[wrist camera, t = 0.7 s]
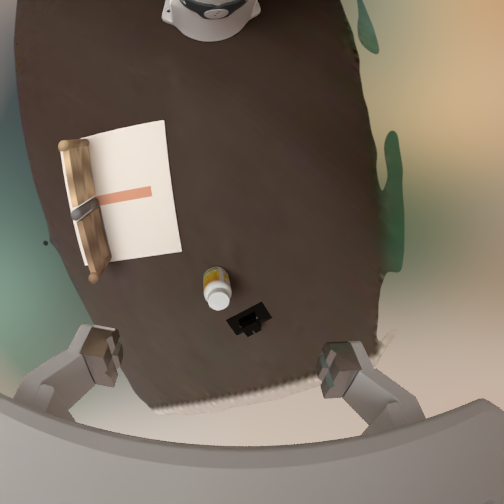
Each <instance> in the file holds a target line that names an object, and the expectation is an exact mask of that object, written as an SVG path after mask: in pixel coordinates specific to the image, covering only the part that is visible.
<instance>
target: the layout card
mask: <svg viewBox="0 0 504 504" xmlns="http://www.w3.org/2000/svg"><path fill="white" fill-rule="evenodd" d="M81 139H88V140H89V145H88V149H89V156H90V164H91V170H92V177H93V183H94V188H95V194H96V195H95V196H93V197H96V198H97V199H98V200H99V204H98V205H97V206H96V207H94V208H99V212H100V216H101V221H102V226H103V230H104V234H105V238H106V242H107V246H108V250H109V254H110V255H111V257H112V258H111V260H110V262H113V261H120V260H126V259H133V258H140V257H147V256H154V255H161V254H169V253H176V252H182V247H181V242H180V236H179V230H178V224H177V217H176V211H175V204H174V197H173V190H172V183H171V175H170V168H169V159H168V151H167V142H166V132H165V121H164V120H161V121H155V122H150V123H144V124H139V125H134V126H129V127H125V128H120V129H116V130H112V131H107V132H103V133H99V134H96V135H92V136H88V137H84V138H81ZM60 152H61V159H62V166H63V173H64V179H65V184H66V190H67V195H68V200H69V205H70V210H71V213H72V211H73V210H75V209H76V208H78V207H79V206H81V205H82V204H84V203H86V202H87V201H89V200H90V199H92V198H93V197H92V198H90V199H89V200H87V201H86V202H84V203H82V204H81V205H79V206H77V207H73V208H72V203H71V198H70V193H69V187H68V182H67V176H66V170H65V163H64V156H63V151H60ZM94 208H93V209H94ZM90 211H91V210H90ZM90 211H89V212H90ZM86 214H87V213H86ZM86 214H85V215H86ZM81 218H82V217H81ZM81 218H80V219H81ZM77 221H78V220H77ZM77 221H75V220H73V223H74V227H75V231H76V235H77V239H78V242H79V246H80V250H81V253H82V257H83V260H84V263H85V266H86V265H88V263H87V260H86V256H85V253H84V249H83V246H82V242H81V238H80V234H79V230H78V226H77Z"/></svg>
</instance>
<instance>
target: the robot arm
mask: <svg viewBox="0 0 504 504" xmlns="http://www.w3.org/2000/svg"><path fill="white" fill-rule="evenodd" d="M167 11H170V12H169V13H168V12H167ZM260 11H261V8H260V6H259V3H258V0H166V1H165V5H164V9H163V13H162V20H163V21H164V22H166V23H169V24H172V25H174V26H176V27H177V28H178V29H179V30H180V31H181V32H182V33H183V34H185V35H186V36H188V37H190V38H192V39H195V40H199V41H207V42H212V41H220V40H224V39H227V38H229V37H231V36H233V35H235V34H237V33H238V32H239V31H240V30H241V29H242V28H243V27H244V26H245V24H246V23H247V22H248V21H249V20H250V19H252V18H254V17H256V16H257V15H259V14H260ZM119 337H120V335H119V332H118V330H117V329H113V328H108V327H103V326H98V325H92V324H87V323H83V324H82V325H81V326H80V328H79V329H78V331H77V333H76V335H75V337H74V339H73V341H72V343H71V345H70V347H69V349H68V351H65V350H64V351H63V352H61V353H59V354H58V355H56V356H55V357H53V358H51V359H50V360H48V361H47V362H45V363H44V364H42V365H40V366H39V367H37V368H36V369H34V370H33V371H31V372H29V373H28V374H26V375H25V376H24V377H23V379H22V381H21V384H20V385H19V388H18V390H17V392H16V394H15V396H14V398H13V399H12V398H10V397H8V396H6V395H4V394H2V393H0V504H504V411H502V410H501V409H500V408H499V407H497V406H496V405H494V404H493V403H491V402H490V401H487V400H486V399H477V400H475V401H472V402H470V403H468V404H465V405H463V406H460V407H458V408H455V409H453V410H450V411H447V412H444V413H442V414H439V415H436V416H433V417H430V418H427V419H426V418H425V416H424V413H423V412H422V409H421V407H420V405H419V403H418V401H417V399H416V397H415V396H414V395H412V394H411V393H409V392H408V391H407V390H405V389H404V388H403V387H401V386H400V385H398V384H397V383H396V382H394V381H393V380H391V379H390V378H389V377H387V376H386V375H384V374H383V373H382V372H381V371H379V370H378V369H374V368H373V366H372V364H371V362H370V360H369V358H368V355H367V353H366V351H365V349H364V347H363V345H362V343H361V342H360V341H348V342H347V341H345V342H326V343H325V344H324V345H323V348H322V350H323V354H321V355H320V356H319V358H318V360H317V366H316V370H317V375H318V378H319V379H320V380H322V381H323V382H322V384H321V389H322V393H323V396H324V398H325V399H326V398H340V397H343V399H344V400H345V401H346V402H347V403H348V404H349V405H350V406H351V407H352V408H353V409H354V410H355V411H356V412H357V413H358V414H359V415H360V416H361V417H362V418H363V419H364V420H365V422H367V424H368V425H369V426H368V428H367V429H366V430H365V431H364V432H363V433H362V435H360V436H356V437H350V438H344V439H338V440H330V441H323V442H315V443H305V444H296V445H295V444H294V445H280V446H248V447H247V446H245V447H244V446H212V445H211V446H210V445H195V444H185V443H175V442H167V441H160V440H153V439H146V438H141V437H135V436H130V435H125V434H120V433H115V432H111V431H107V430H103V429H98V428H94V427H91V426H87V425H84V424H80V423H77V422H75V420H74V418H73V417H72V415H71V414H70V413H69V411H68V409H70V408H71V407H72V406H73V405H74V404H75V403H76V402H77V401H78V400H80V398H82V396H84V395H85V394H86V393H87V392H88V391H89V390H90V389H91V388H92V387H94V385H95V384H98V385H104V386H109V387H114V386H115V383H116V379H117V376H118V373H117V370H116V369H117V368H119V367H120V366H121V363H122V359H123V347H122V344H121V343H120V342H119V341H118V339H119Z"/></svg>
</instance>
